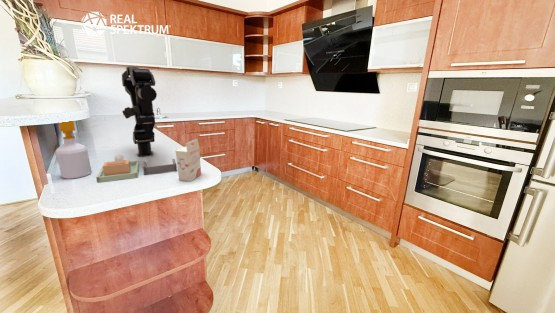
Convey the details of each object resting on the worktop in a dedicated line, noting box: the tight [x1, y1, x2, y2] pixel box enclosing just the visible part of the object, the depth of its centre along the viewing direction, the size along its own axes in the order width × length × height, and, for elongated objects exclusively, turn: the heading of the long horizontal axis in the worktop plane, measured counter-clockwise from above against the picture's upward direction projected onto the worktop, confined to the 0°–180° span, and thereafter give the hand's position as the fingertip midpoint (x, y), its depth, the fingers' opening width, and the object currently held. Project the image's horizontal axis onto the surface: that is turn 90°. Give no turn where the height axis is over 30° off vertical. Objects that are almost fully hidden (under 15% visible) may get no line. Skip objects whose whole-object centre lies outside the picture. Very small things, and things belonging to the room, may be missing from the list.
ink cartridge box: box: [175, 138, 202, 182], centre depth 93 cm, size 9×5×15 cm, turn 168°
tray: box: [96, 160, 140, 184], centre depth 97 cm, size 16×13×2 cm
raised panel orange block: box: [102, 154, 131, 176], centre depth 95 cm, size 8×11×6 cm
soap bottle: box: [55, 120, 93, 180], centre depth 91 cm, size 9×9×25 cm
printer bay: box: [142, 158, 178, 176], centre depth 101 cm, size 8×12×3 cm, turn 117°
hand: (149, 136), depth 107 cm, fingers open, 9 cm apart
